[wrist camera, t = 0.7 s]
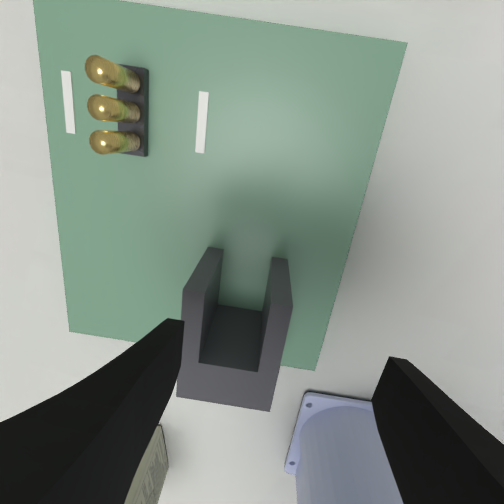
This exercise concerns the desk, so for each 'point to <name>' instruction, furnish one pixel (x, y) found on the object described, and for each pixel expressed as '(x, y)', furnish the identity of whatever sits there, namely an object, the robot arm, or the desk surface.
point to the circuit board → (210, 161)
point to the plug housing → (232, 338)
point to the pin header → (119, 107)
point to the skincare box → (150, 473)
